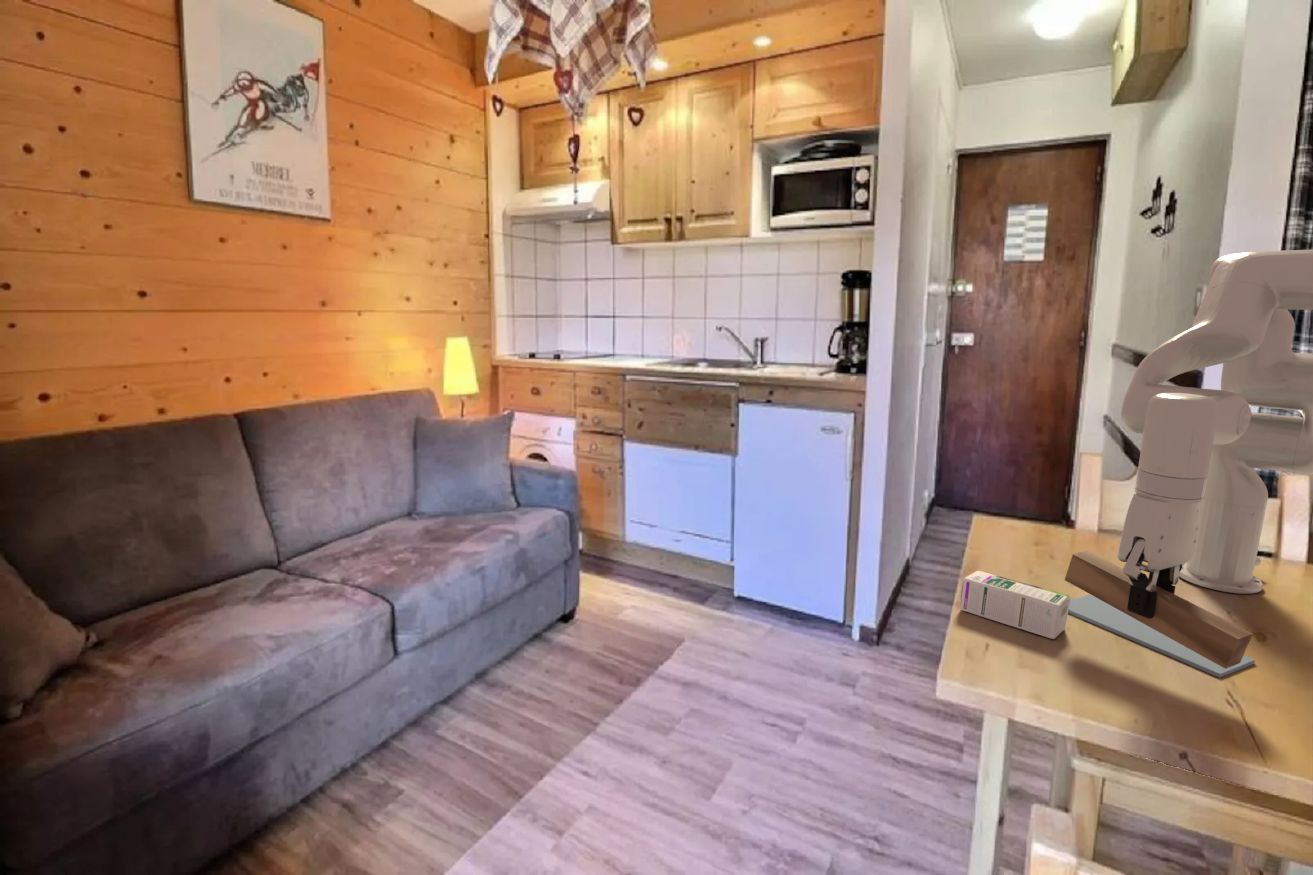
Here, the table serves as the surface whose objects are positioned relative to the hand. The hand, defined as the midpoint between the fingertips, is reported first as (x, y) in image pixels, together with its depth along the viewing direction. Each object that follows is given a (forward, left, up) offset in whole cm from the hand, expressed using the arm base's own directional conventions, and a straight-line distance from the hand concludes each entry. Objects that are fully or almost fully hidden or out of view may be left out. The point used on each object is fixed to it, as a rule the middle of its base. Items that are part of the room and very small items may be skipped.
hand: (1149, 610), depth 96 cm
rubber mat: (-10, -5, -8) cm, 14 cm away
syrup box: (+3, -10, -5) cm, 12 cm away
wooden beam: (0, 0, -1) cm, 1 cm away
